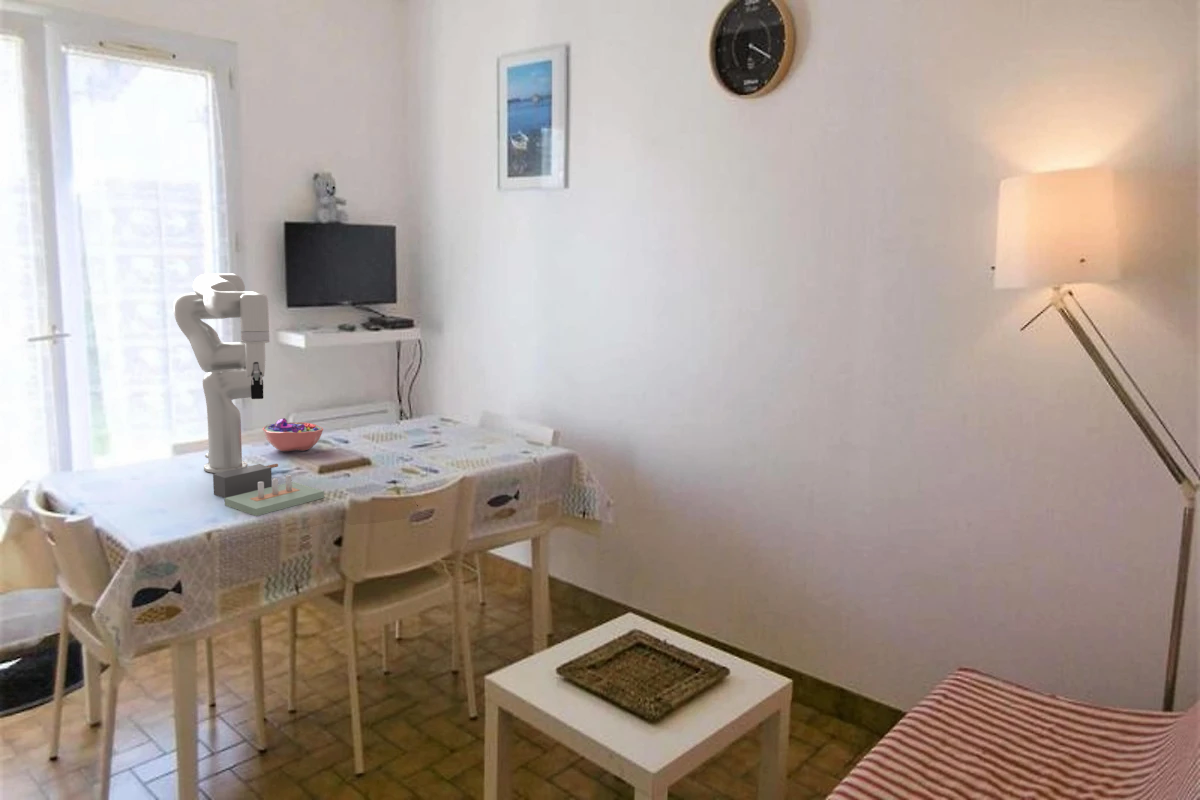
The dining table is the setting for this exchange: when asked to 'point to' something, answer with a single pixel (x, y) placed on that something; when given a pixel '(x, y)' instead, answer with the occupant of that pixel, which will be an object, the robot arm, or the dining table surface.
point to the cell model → (292, 435)
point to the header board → (274, 497)
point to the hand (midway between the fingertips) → (257, 396)
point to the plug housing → (242, 480)
